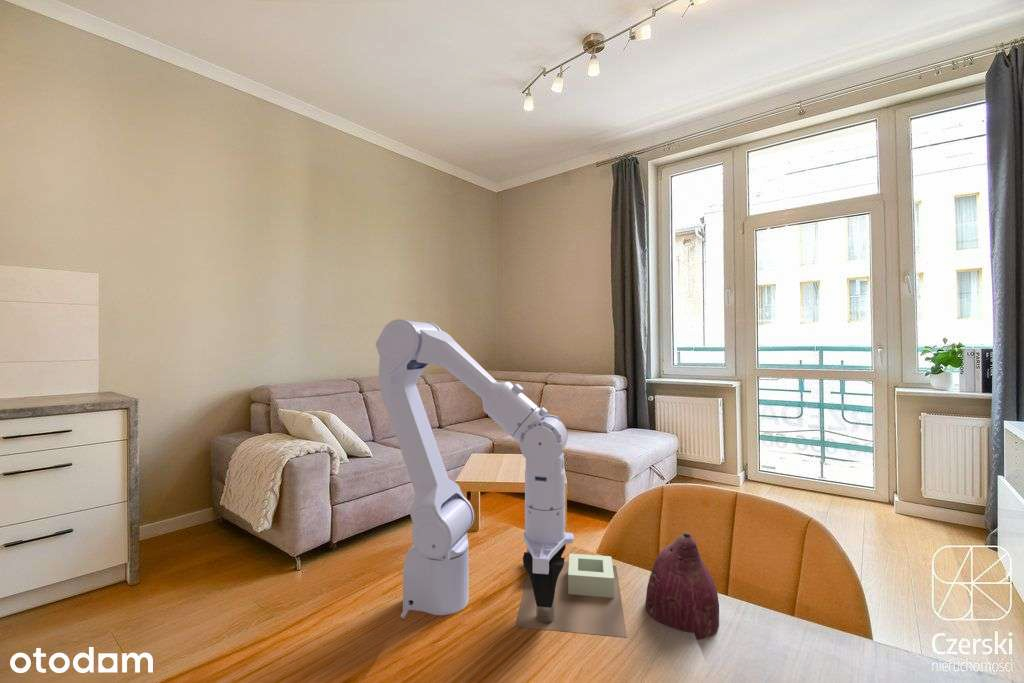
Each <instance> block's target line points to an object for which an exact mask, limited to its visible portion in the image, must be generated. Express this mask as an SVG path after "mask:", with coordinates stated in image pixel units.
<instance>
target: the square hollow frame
mask: <svg viewBox="0 0 1024 683" xmlns="http://www.w3.org/2000/svg"><path fill="white" fill-rule="evenodd" d="M568 554H569V556H568V562H569V570H568V594H574V595H586V596H598V597H609V598H614V573H613V566H614V565H613V560H612V556H609V555H598V554H595V555H594V554H582V553H568Z"/></svg>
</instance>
